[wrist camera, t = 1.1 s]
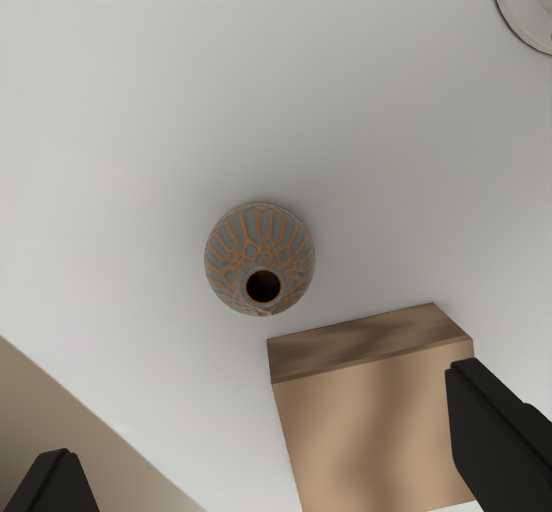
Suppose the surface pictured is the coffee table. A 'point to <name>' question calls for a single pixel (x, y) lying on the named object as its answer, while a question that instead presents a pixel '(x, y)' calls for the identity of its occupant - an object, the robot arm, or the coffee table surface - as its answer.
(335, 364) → the walnut box
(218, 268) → the vase
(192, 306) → the coffee table surface
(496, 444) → the robot arm
